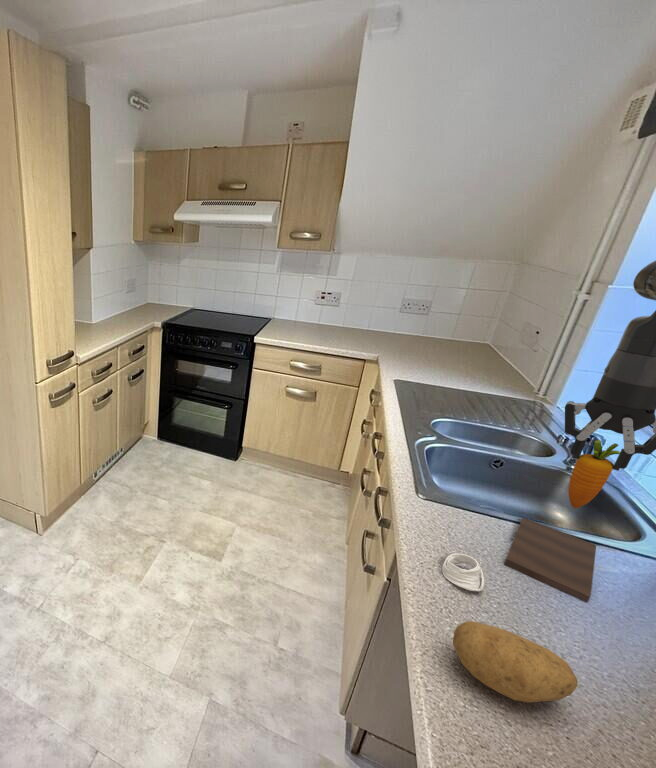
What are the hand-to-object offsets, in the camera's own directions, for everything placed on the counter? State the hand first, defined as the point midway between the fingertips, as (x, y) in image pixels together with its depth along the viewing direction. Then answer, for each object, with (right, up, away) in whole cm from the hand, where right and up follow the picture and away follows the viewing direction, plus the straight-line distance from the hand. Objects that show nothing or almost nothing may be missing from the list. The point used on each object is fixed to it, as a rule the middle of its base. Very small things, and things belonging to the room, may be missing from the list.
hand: (595, 462), depth 77 cm
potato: (-32, -30, -16) cm, 47 cm away
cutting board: (-1, -21, +8) cm, 23 cm away
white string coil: (-23, -23, +2) cm, 33 cm away
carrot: (0, -10, +4) cm, 11 cm away
